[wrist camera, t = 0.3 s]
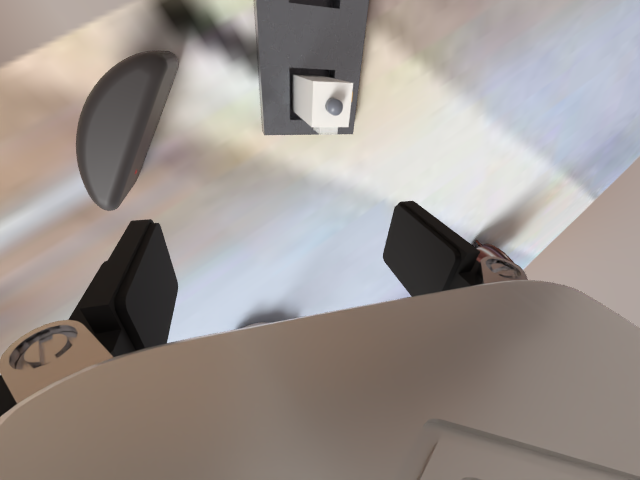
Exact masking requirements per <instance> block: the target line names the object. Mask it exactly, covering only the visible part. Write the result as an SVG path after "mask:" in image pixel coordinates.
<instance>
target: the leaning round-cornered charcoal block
mask: <svg viewBox="0 0 640 480" xmlns="http://www.w3.org/2000/svg"><path fill="white" fill-rule="evenodd" d="M178 65H179V63H178V59H177V57H176V56H175V55H174V54H173V53H171V52H169V51H147V52H142V53H138V54H135V55H133V56H130V57H128V58H126V59H124V60H123V61H121V62H119V63H118V64H116V65H115V66H114V67H112V68H111V69H110V70H109V71H108V72H107V73H106V74H105V75H104V76H103V77H102V78H101V79H100V80H99V81H98V82H97V84H96V85H95V86H94V88H93V89H92V91H91V92H90V94H89V96H88V98H87V100H86V102H85V104H84V106H83V109H82V112H81V115H80V118H79V122H78V128H77V136H76V154H77V162H78V167H79V171H80V175H81V178H82V180H83V183H84V185H85V188H86V190H87V192H88V194H89V195H90V197H91V199H92V200H93V201H94V202H95V203H96V204H97V205H98V206H99V207H100V208H102V209H104V210H108V211H111V210H115V209H117V208H118V207H119V206H120V204H121V203H122V201H123V200H124V198H125V197H126V195H127V194H128V193H129V191H130V190H131V188H132V187H133V185H134V184H135V182H136V180H137V178H138V176H139V173H140V170H141V168H142V165H143V162H144V160H145V157H146V154H147V151H148V149H149V146H150V143H151V141H152V138H153V135H154V132H155V130H156V127H157V124H158V122H159V119H160V116H161V113H162V111H163V108H164V105H165V103H166V100H167V97H168V94H169V92H170V89H171V86H172V84H173V81H174V78H175V75H176V73H177V69H178Z"/></svg>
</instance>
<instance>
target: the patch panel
mask: <svg viewBox="0 0 640 480" xmlns="http://www.w3.org/2000/svg"><path fill="white" fill-rule="evenodd" d="M368 4H369V0H254V14H255V29H256V44H257V59H258V75H259V90H260V105H261V120H262V131H263V133H264V135H311V134H318V133H317V132H316V131H315V130H314V129H313V128H314V127H311V126H310V125H308V124H307V123H306V122H305V121H304V120H303V119H302V118H300V117H299V116H298V115H297V114H296V113H295V112H293V111H292V74H296V75H316V76H326V77H330V78H334V79H339V80H343V81H347V82H351V83H353V90H352V100H351V109H350V118H349V127H338V132H337V134H353V129H354V121H355V113H356V104H357V96H358V87H359V79H360V71H361V62H362V54H363V46H364V37H365V29H366V20H367V12H368Z"/></svg>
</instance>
